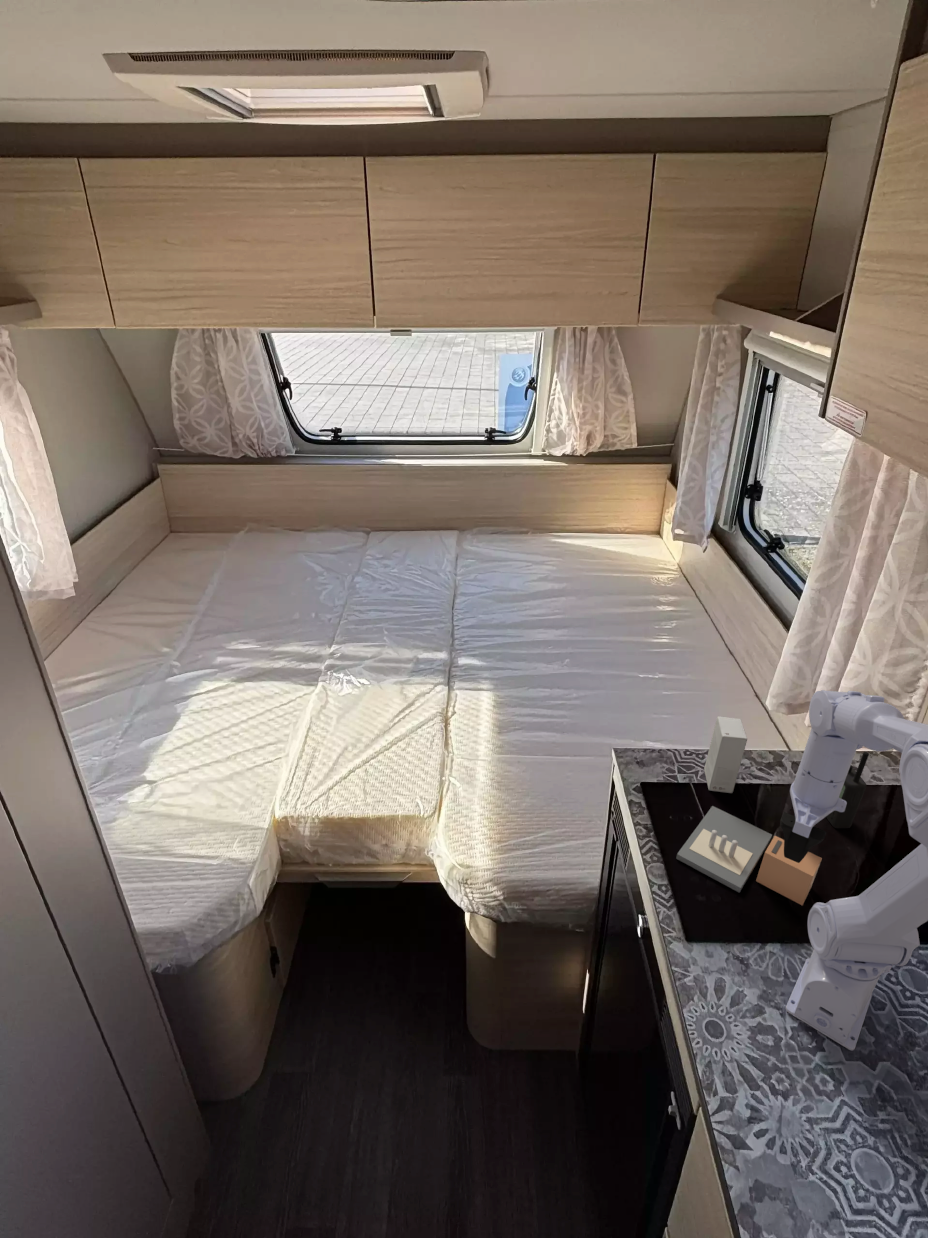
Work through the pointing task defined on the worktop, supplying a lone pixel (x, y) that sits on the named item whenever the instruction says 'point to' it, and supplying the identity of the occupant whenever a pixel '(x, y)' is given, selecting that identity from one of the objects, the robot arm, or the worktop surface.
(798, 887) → the plug housing
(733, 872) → the board
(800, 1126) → the worktop surface
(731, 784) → the skincare box
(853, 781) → the walkie-talkie
